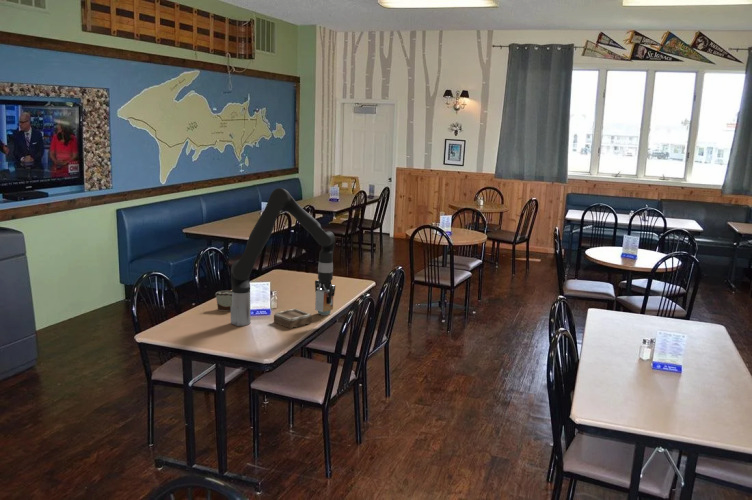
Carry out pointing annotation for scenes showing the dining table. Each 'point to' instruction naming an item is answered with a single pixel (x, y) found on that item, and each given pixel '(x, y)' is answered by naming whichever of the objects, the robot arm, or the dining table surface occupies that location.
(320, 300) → the small box
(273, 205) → the robot arm
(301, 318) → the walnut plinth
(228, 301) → the food container
